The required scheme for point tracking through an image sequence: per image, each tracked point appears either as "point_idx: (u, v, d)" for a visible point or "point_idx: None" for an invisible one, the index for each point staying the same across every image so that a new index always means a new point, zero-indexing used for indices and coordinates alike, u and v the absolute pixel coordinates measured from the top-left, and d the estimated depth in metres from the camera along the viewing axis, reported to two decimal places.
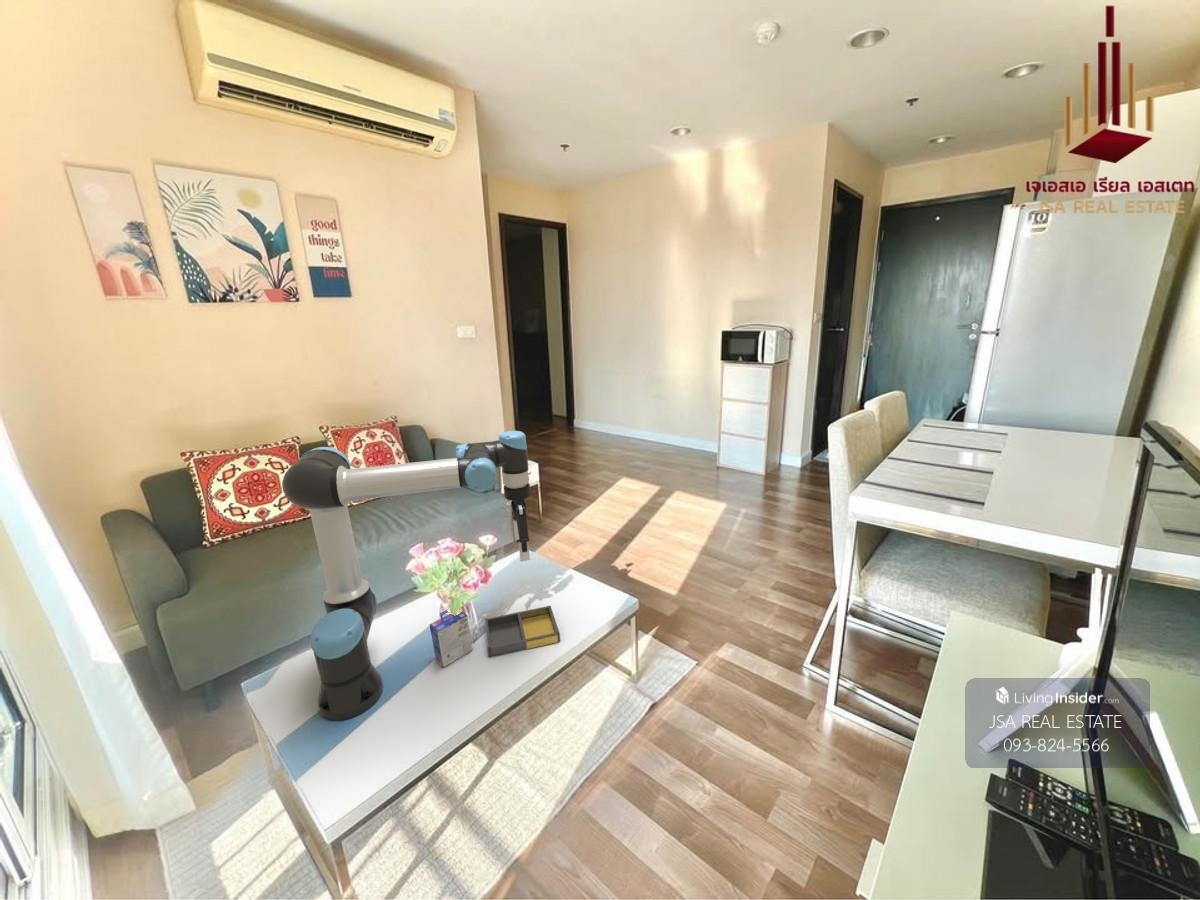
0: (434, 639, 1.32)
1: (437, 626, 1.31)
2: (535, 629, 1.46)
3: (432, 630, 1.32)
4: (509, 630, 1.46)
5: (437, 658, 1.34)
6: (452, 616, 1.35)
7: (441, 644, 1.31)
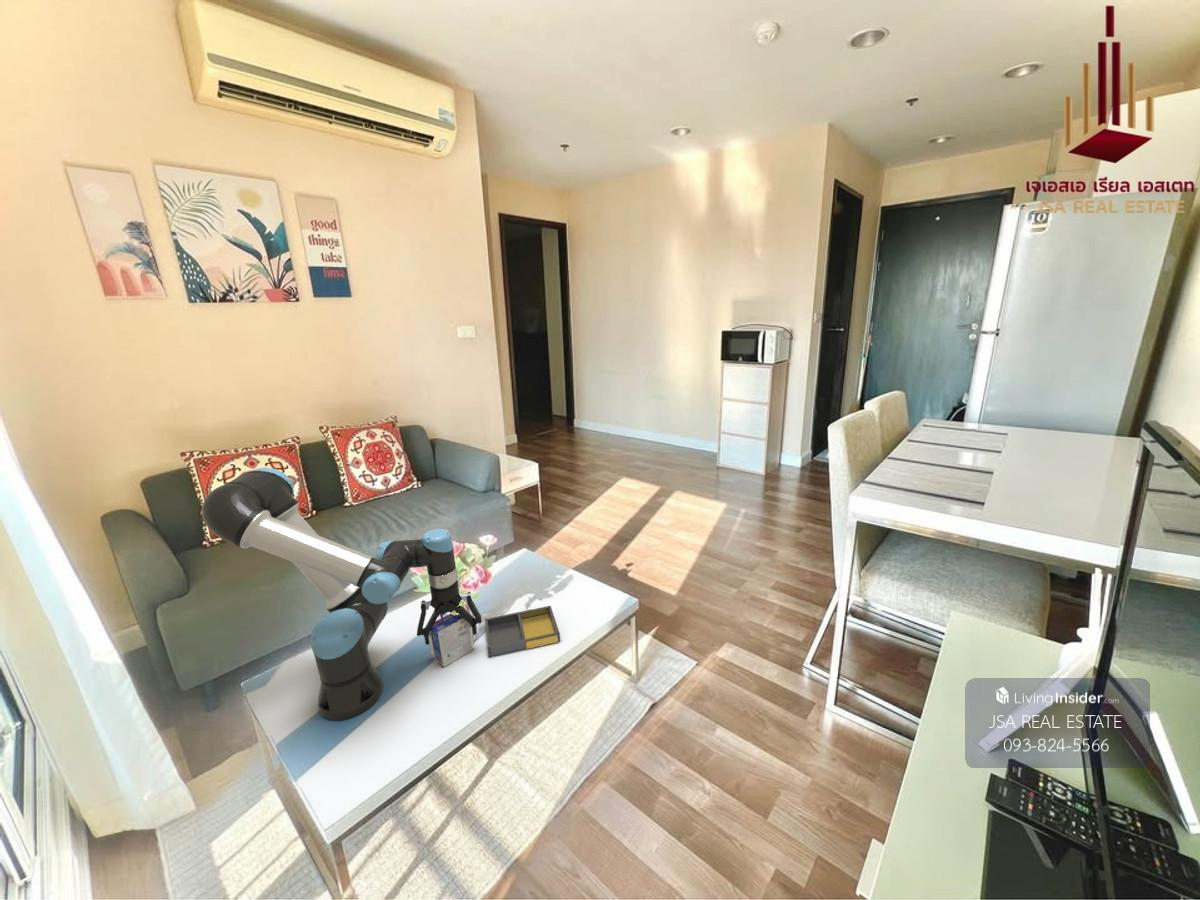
0: (434, 639, 1.32)
1: (438, 626, 1.31)
2: (535, 629, 1.46)
3: (432, 630, 1.32)
4: (509, 630, 1.46)
5: (437, 658, 1.34)
6: (452, 616, 1.35)
7: (441, 644, 1.31)
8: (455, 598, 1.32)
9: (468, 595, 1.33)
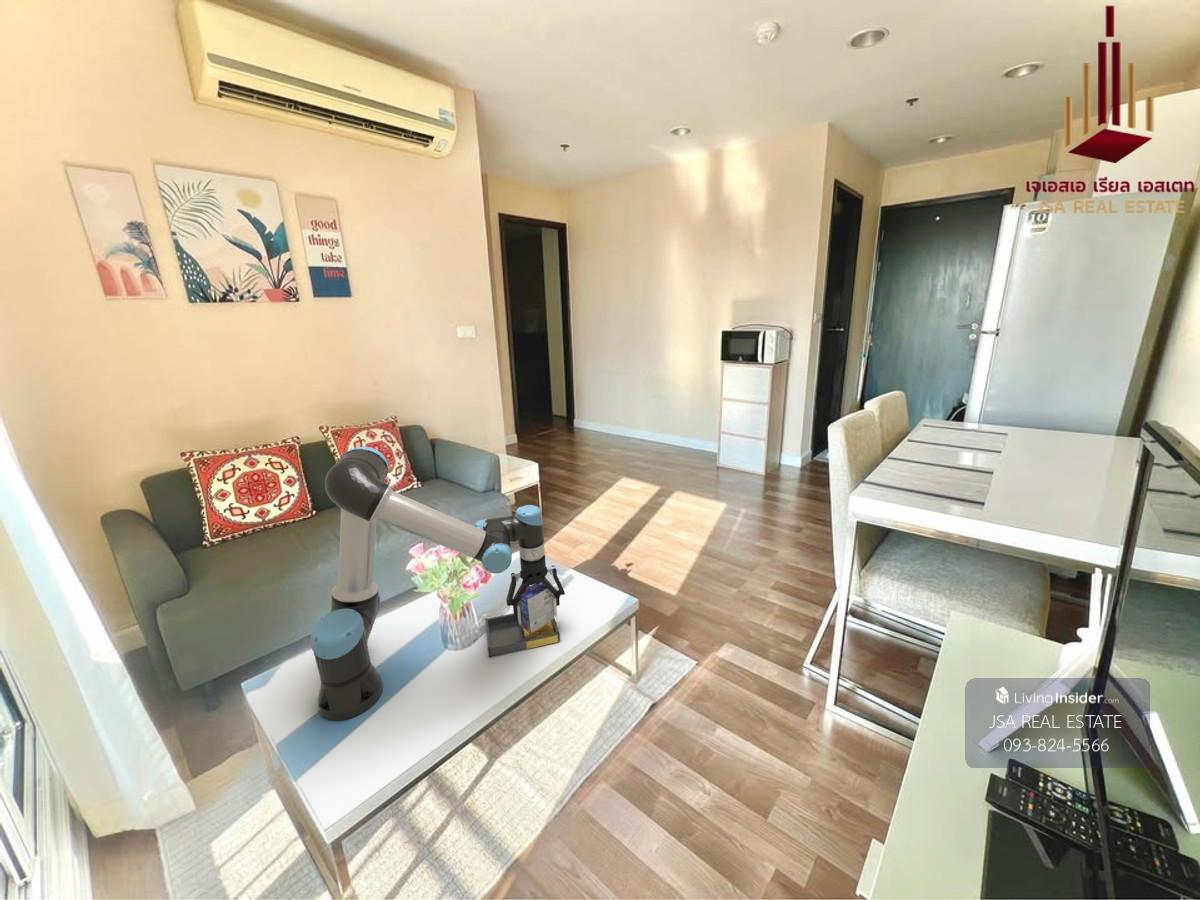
0: (522, 607, 1.40)
1: (526, 594, 1.40)
2: None
3: (521, 599, 1.40)
4: (509, 630, 1.46)
5: (524, 625, 1.42)
6: (537, 586, 1.43)
7: (530, 611, 1.39)
8: (542, 570, 1.40)
9: (554, 568, 1.42)
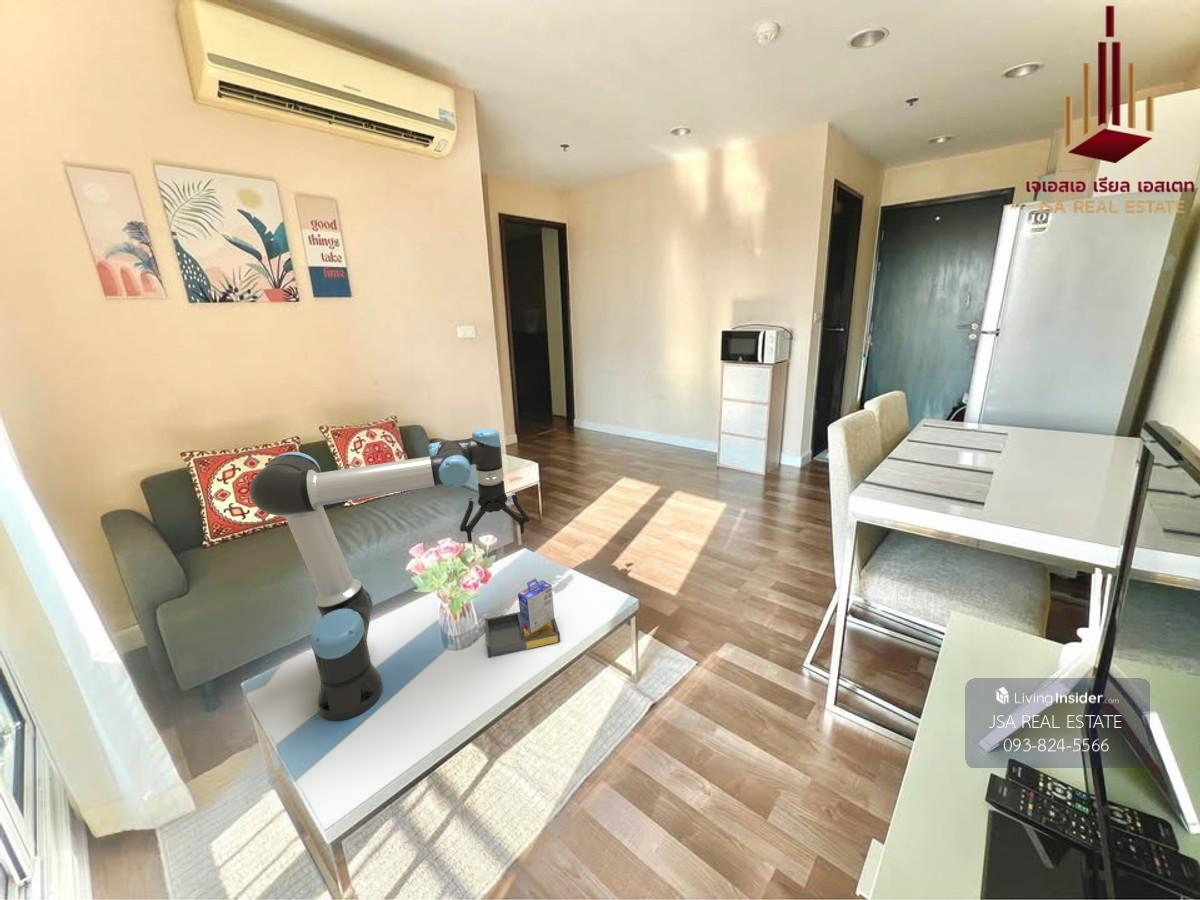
0: (522, 607, 1.40)
1: (526, 594, 1.40)
2: None
3: (521, 599, 1.40)
4: (509, 630, 1.46)
5: (524, 625, 1.42)
6: (537, 586, 1.43)
7: (530, 611, 1.39)
8: (501, 498, 1.36)
9: (513, 494, 1.37)
